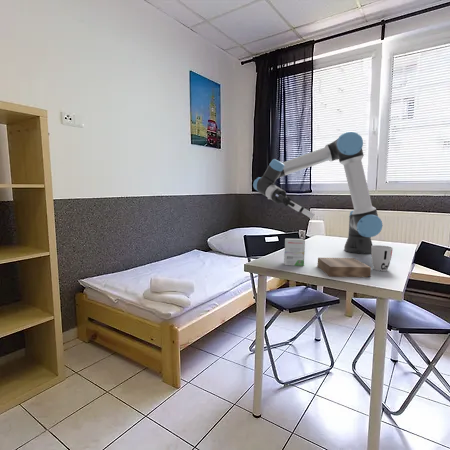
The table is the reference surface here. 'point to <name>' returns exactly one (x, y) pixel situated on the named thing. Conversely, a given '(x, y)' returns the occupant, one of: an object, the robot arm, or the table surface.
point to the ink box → (294, 252)
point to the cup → (381, 257)
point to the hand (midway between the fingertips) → (306, 213)
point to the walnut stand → (344, 267)
